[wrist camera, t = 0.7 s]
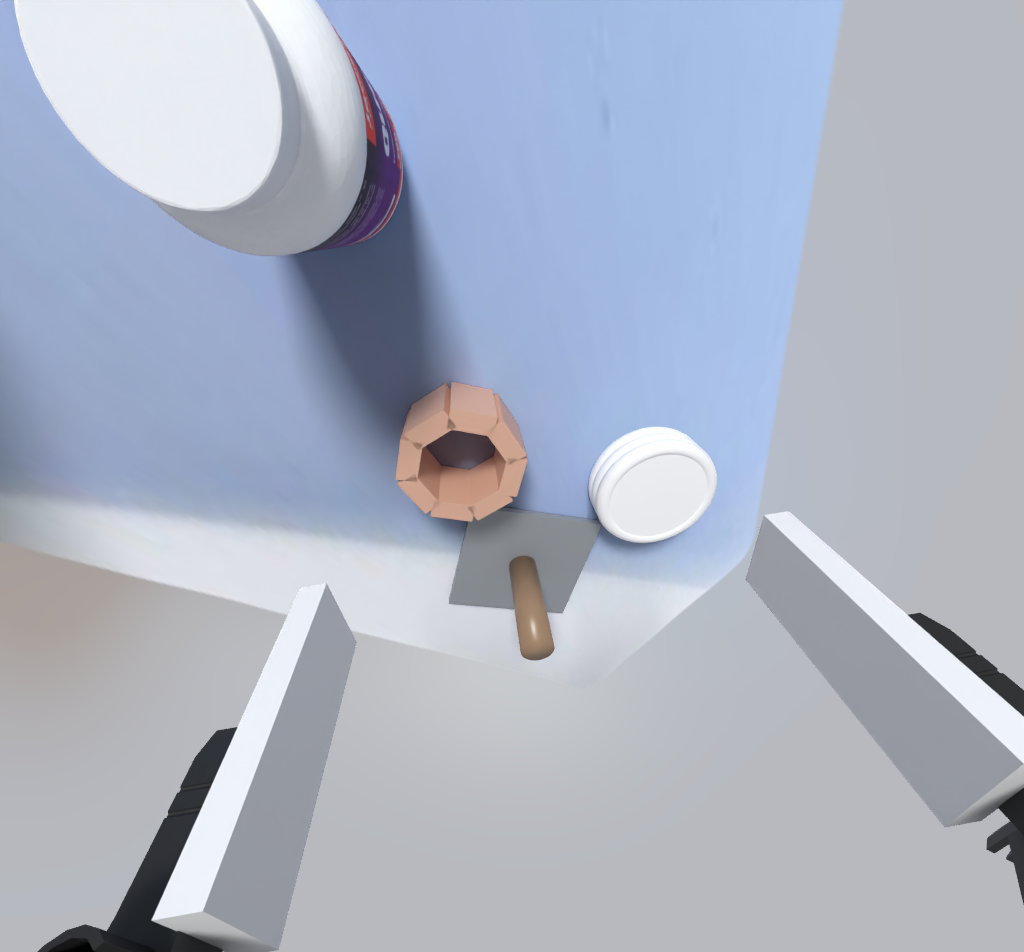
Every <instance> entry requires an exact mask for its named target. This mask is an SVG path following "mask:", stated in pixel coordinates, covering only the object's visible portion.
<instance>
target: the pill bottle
mask: <svg viewBox="0 0 1024 952" xmlns="http://www.w3.org/2000/svg"><path fill="white" fill-rule="evenodd" d="M14 2H15V11H16V17H17V21H18V25H19V30H20V35H21V38H22V41H23V44H24V48H25V51H26V53H27V56H28V58H29V61H30V63H31V65H32V68H33V70H34V73H35V75H36V77H37V79H38V81H39V83H40V85H41V87H42V89H43V91H44V93H45V94H46V96H47V97H48V99H49V101H50V102H51V104H52V106H53V107H54V109H55V110H56V112H57V113H58V115H59V116H60V117H61V119H62V120H63V122H64V123H65V124H66V126H67V127H68V128H69V129H70V131H71V132H72V133H73V134H74V136H75V137H76V138H77V140H78V141H79V142H80V143H81V144H82V145H83V146H84V147H85V148H86V150H87V151H88V152H89V153H90V154H91V155H92V156H93V157H94V158H95V159H96V160H97V161H98V162H99V163H100V164H102V165H103V166H104V167H105V168H106V169H108V170H109V171H110V172H111V173H113V174H114V175H115V176H116V177H118V178H119V179H120V180H121V181H123V182H124V183H126V184H127V185H129V186H130V187H132V188H134V189H135V190H137V191H138V192H140V193H142V194H144V195H146V196H148V197H149V198H150V199H151V200H153V201H154V202H155V203H156V204H157V205H158V206H159V207H160V208H161V209H162V210H164V211H165V212H166V213H167V214H169V215H170V216H171V217H172V218H174V219H175V220H177V221H178V222H179V223H181V224H182V225H184V226H185V227H186V228H188V229H189V230H191V231H193V232H194V233H196V234H198V235H200V236H201V237H203V238H205V239H207V240H209V241H211V242H213V243H216V244H218V245H220V246H223V247H226V248H228V249H231V250H235V251H238V252H242V253H247V254H252V255H259V256H283V255H293V254H298V253H303V252H309V251H316V250H322V249H329V248H336V247H343V246H350V245H354V244H357V243H360V242H363V241H365V240H367V239H369V238H371V237H373V236H374V235H375V234H377V233H378V232H379V231H380V230H381V229H382V228H383V227H384V226H385V225H386V224H387V222H388V221H389V220H390V218H391V216H392V214H393V212H394V210H395V208H396V206H397V203H398V201H399V197H400V194H401V189H402V182H403V162H402V152H401V147H400V143H399V139H398V136H397V132H396V129H395V127H394V124H393V122H392V119H391V117H390V115H389V113H388V111H387V109H386V107H385V106H384V104H383V102H382V100H381V99H380V97H379V96H378V94H377V92H376V91H375V90H374V88H373V87H372V85H371V84H370V82H369V81H368V79H367V78H366V76H365V75H364V73H363V71H362V70H361V69H360V67H359V65H358V64H357V62H356V61H355V59H354V58H353V56H352V55H351V53H350V52H349V50H348V49H347V47H346V46H345V44H344V43H343V41H342V39H341V38H340V36H339V35H338V33H337V32H336V30H335V29H334V27H333V26H332V24H331V22H330V21H329V19H328V18H327V16H326V15H325V13H324V12H323V10H322V9H321V7H320V6H319V5H318V3H317V2H316V0H14Z"/></svg>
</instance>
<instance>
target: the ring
mask: <svg viewBox="0 0 1024 952" xmlns="http://www.w3.org/2000/svg"><path fill="white" fill-rule="evenodd" d="M451 430H456V431H462V432H468V433H473V434H479V435H485V436H488V437H489V439H490V440H491V441H492V443H493V444H494V445H495V447H496V449H495V453H494V456H492V457H491V458H489V459H487V460H485V461H484V462H482V463H480V464H479V465H477V466H475V467H474V468H472V469H470V470H468V469H461V468H455V467H449V466H442V465H441V464H440V463H439V462H438V461H437V460H436V458H435V457H434V456H433V455H432V454H431V452H430V451H429V450H428V449H427V448H426V445H428V444H430V443H431V442H433V441H435V440H436V439H438V438H439V437H441V436H443V435H444V434H446V433H448V432H449V431H451ZM526 455H527V454H526V451H525V447H524V444H523V440H522V437H521V433H520V430H519V427H518V424H517V422H516V421H515V419H514V418H513V416H512V415H511V413H510V412H509V410H508V409H507V407H506V405H505V404H504V402H503V401H502V399H501V398H500V396H499V395H498V393H497V394H495V395H493V390H491V389H486V388H481V387H476V386H471V385H466V384H461V383H456V382H452V383H451V388H449V387H448V385H447V384H446V383H444V384H443V385H441V386H440V387H438V388H437V389H435V390H434V391H432V392H431V393H429V394H427V395H426V396H424V397H423V398H421V399H420V400H418V401H417V402H415V403H413V404H412V406H411V409H409V411H408V414H407V418H406V421H405V425H404V428H403V432H402V436H401V439H400V447H399V455H398V463H397V472H396V479H397V480H399V481H398V486H399V487H400V488H401V489H402V490H403V491H404V492H405V493H406V494H407V495H408V496H409V497H410V498H411V499H412V500H413V501H414V502H415V504H416V505H417V506H418V507H419V508H420V509H421V510H422V511H423V512H424V513H425V514H426V513H427V512H429V511H431V517H439V518H447V519H454V520H462V521H470V522H472V520H473V516H474V517H475V518H476V519H477V520H480V519H482V518H484V517H485V516H487V515H489V514H491V513H493V512H494V511H496V510H498V509H500V508H502V507H503V506H505V505H507V504H509V503H511V502H512V501H513V499H512V496H514V497H517V494H518V491H519V488H520V485H521V481H522V478H523V475H524V471H525V468H526V465H527V462H528V460H527V457H526Z"/></svg>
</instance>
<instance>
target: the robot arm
mask: <svg viewBox="0 0 1024 952" xmlns="http://www.w3.org/2000/svg"><path fill="white" fill-rule="evenodd" d="M746 580H747V582H748V583H749V584H750V586H751V587H752V588H753V589H754V590H755V592H756V593H757V594H758V595H759V597H760V598H761V599H762V600H763V602H764V603H765V604H766V605H767V607H768V608H769V609H770V610H771V612H772V613H773V614H774V615H775V616H776V618H777V619H778V620H779V622H780V623H781V624H782V625H783V626H784V628H785V629H786V630H787V632H788V633H789V634H790V635H791V637H792V638H793V639H794V640H795V641H796V643H797V644H798V645H799V646H800V648H801V649H802V650H803V652H804V653H805V654H806V655H807V656H808V658H809V659H810V660H811V661H812V663H813V664H814V665H815V666H816V668H817V669H818V670H819V671H820V673H821V674H822V675H823V676H824V678H825V679H826V680H827V681H828V683H829V684H830V685H831V686H832V688H833V689H834V690H835V691H836V693H837V694H838V695H839V696H840V698H841V699H842V700H843V701H844V703H845V704H846V705H847V706H848V708H849V709H850V710H851V711H852V712H853V714H854V715H855V716H856V718H857V719H858V720H859V721H860V722H861V724H862V725H863V726H864V727H865V729H866V730H867V731H868V732H869V734H870V735H871V736H872V737H873V739H874V740H875V741H876V742H877V744H878V745H879V746H880V747H881V749H882V750H883V751H884V752H885V753H886V755H887V756H888V757H889V759H890V760H891V761H892V762H893V764H894V765H895V766H896V767H897V768H898V770H899V771H900V772H901V773H902V775H903V776H904V777H905V779H906V780H907V781H908V782H909V783H910V785H911V786H912V787H913V789H914V790H915V791H916V792H917V793H918V795H919V796H920V797H921V798H922V799H923V801H924V802H925V803H926V805H927V806H928V807H929V808H930V810H931V811H932V812H933V813H934V815H935V816H936V817H937V818H938V820H939V821H940V822H941V823H942V825H943V826H944V827H949V826H955V825H960V824H965V823H971V822H977V821H981V820H983V819H984V818H986V817H987V816H988V815H990V814H991V813H992V812H994V811H995V810H996V809H998V808H999V809H1000V810H1001V811H1002V812H1003V813H1004V815H1005V816H1006V817H1008V819H1009V820H1010V822H1009V823H1007V824H1006V825H1004V826H1003V827H1001V828H1000V829H998V830H997V831H995V832H994V833H993V834H992V835H991V836H989V837H988V838H987V850H989V851H991V852H993V853H996V852H998V851H999V850H1001V849H1002V848H1003V847H1005V846H1007V845H1010V848H1011V851H1010V852H1009V854H1008V855H1007V857H1006V858H1007V860H1009V861H1011V862H1013V863H1014V865H1015V870H1016V874H1017V878H1018V882H1019V887H1020V891H1021V895H1022V899H1023V903H1024V690H1023V689H1021V688H1020V687H1019V686H1018V685H1016V684H1015V683H1014V682H1013V681H1012V680H1011V679H1009V678H1008V677H1007V676H1006V675H1005V674H1003V673H999V672H998V671H997V668H996V667H995V666H994V665H992V664H991V663H990V662H989V661H988V660H986V659H985V658H984V657H983V656H982V655H977V654H976V651H975V650H974V649H973V648H972V647H971V646H969V645H968V644H967V643H966V642H965V641H963V640H962V639H961V638H960V637H959V636H957V635H956V634H955V633H954V632H952V631H951V630H950V629H948V628H946V627H945V626H943V625H941V624H939V623H937V622H935V621H934V620H932V619H930V618H928V617H927V616H925V615H923V614H921V613H917V614H910V615H906V613H904V612H903V611H902V610H901V609H900V608H899V607H897V606H896V605H895V604H894V603H893V602H892V601H891V600H890V599H888V598H887V597H886V596H885V595H884V594H883V593H882V592H880V591H879V590H878V589H877V588H876V587H875V586H874V585H872V584H871V583H870V582H869V581H868V580H867V579H865V578H864V577H863V576H862V575H861V574H860V573H859V572H857V571H856V570H855V569H854V568H853V567H852V566H851V565H849V564H848V563H847V562H846V561H845V560H844V559H843V558H841V557H840V556H839V555H838V554H837V553H836V552H835V551H833V550H832V549H831V548H830V547H829V546H828V545H827V544H825V543H824V542H823V541H822V540H821V539H820V538H819V537H817V536H816V535H815V534H814V533H813V532H812V531H811V530H809V529H808V528H807V527H806V526H805V525H804V524H802V523H801V522H800V521H799V520H798V519H797V518H796V517H794V516H793V515H792V514H791V513H790V512H789V511H788V512H782V513H775V514H768V515H764V517H763V521H762V524H761V528H760V531H759V535H758V538H757V541H756V545H755V549H754V552H753V555H752V559H751V562H750V566H749V570H748V573H747V576H746ZM355 646H356V640H355V638H354V636H353V634H352V632H351V630H350V628H349V626H348V625H347V623H346V621H345V619H344V617H343V615H342V613H341V611H340V609H339V607H338V605H337V603H336V601H335V599H334V597H333V595H332V593H331V591H330V589H329V587H328V585H327V583H326V584H319V585H313V586H307V587H300V589H299V591H298V593H297V596H296V598H295V600H294V602H293V605H292V607H291V609H290V611H289V614H288V616H287V618H286V620H285V623H284V625H283V627H282V629H281V631H280V634H279V636H278V638H277V640H276V643H275V645H274V647H273V649H272V652H271V654H270V656H269V658H268V661H267V663H266V665H265V667H264V670H263V672H262V674H261V676H260V678H259V681H258V683H257V685H256V687H255V690H254V692H253V694H252V696H251V699H250V701H249V703H248V705H247V708H246V710H245V712H244V714H243V717H242V719H241V721H240V723H239V725H238V727H236V728H230V729H224V730H218V731H216V732H215V734H214V735H213V736H212V737H211V738H210V740H209V741H208V742H207V743H206V745H205V746H204V747H203V748H202V749H201V751H200V752H199V753H198V755H197V756H196V757H195V759H194V761H193V763H192V765H191V767H190V769H189V771H188V773H187V775H186V777H185V779H184V781H183V783H182V785H181V790H180V792H179V793H177V794H176V797H175V799H174V801H173V802H172V804H171V806H170V809H169V810H168V816H167V818H165V819H164V820H163V822H162V824H161V826H160V829H159V830H158V832H157V835H156V836H155V838H154V840H153V842H152V844H151V846H150V848H149V851H148V852H147V854H146V856H145V858H144V861H143V862H142V864H141V866H140V868H139V870H138V872H137V874H136V876H135V878H134V880H133V882H132V885H131V886H130V888H129V890H128V892H127V894H126V896H125V898H124V900H123V902H122V904H121V906H120V908H119V910H118V912H117V914H116V916H115V918H114V920H113V921H112V923H111V925H110V927H109V929H108V930H107V931H104V930H101V929H99V928H95V927H92V926H88V925H82V926H79V927H76V928H73V929H69V930H67V931H65V932H63V933H62V934H60V935H59V936H58V937H56V938H55V939H53V940H52V941H50V942H49V943H47V944H46V945H44V946H43V947H42V948H41V949H40V950H39V951H38V952H222V951H224V952H269V951H275V950H279V946H280V942H281V938H282V934H283V930H284V926H285V922H286V919H287V914H288V911H289V907H290V903H291V899H292V895H293V891H294V887H295V883H296V879H297V875H298V871H299V867H300V863H301V859H302V855H303V851H304V847H305V843H306V839H307V835H308V831H309V828H310V824H311V819H312V816H313V812H314V808H315V804H316V800H317V796H318V792H319V788H320V784H321V780H322V776H323V772H324V768H325V764H326V760H327V756H328V752H329V749H330V745H331V741H332V737H333V733H334V729H335V725H336V720H337V716H338V713H339V708H340V705H341V701H342V697H343V693H344V689H345V685H346V681H347V677H348V673H349V669H350V665H351V662H352V658H353V653H354V650H355Z"/></svg>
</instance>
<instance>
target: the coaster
mask: <svg viewBox="0 0 1024 952" xmlns="http://www.w3.org/2000/svg"><path fill="white" fill-rule="evenodd" d="M716 486H717V473H716V469H715V467H714V464H713V462H712V460H711V458H710V457H709V455H708V454H707V453H706V452H705V451H704V450H702V449H701V448H700V447H699V446H698V445H697V444H696V443H695V442H694V441H693V440H692V439H691V438H690V437H688V436H687V435H686V434H684V433H682V432H680V431H677V430H674V429H671V428H666V427H647V428H642V429H638V430H635V431H632V432H630V433H628V434H625V435H623V436H622V437H620V438H618V439H617V440H616V441H614V442H613V443H612V444H610V445H609V446H608V447H607V448H606V449H605V450H604V451H603V452H602V454H601V455H600V456H599V458H598V459H597V461H596V462H595V464H594V466H593V468H592V471H591V473H590V477H589V485H588V490H589V497H590V501H591V503H592V505H593V507H594V509H595V512H596V513H597V515H598V518H599V520H600V522H601V523H602V525H603V526H604V527H605V528H606V529H607V530H608V531H609V532H610V533H611V534H613V535H614V536H616V537H618V538H620V539H622V540H625V541H629V542H635V543H649V542H656V541H661V540H664V539H667V538H670V537H672V536H675V535H677V534H679V533H681V532H682V531H684V530H685V529H687V528H688V527H690V526H691V525H692V524H694V523H695V522H696V521H697V520H698V519H699V518H700V517H701V516H702V514H703V513H704V512H705V511H706V509H707V508H708V506H709V505H710V503H711V501H712V499H713V497H714V494H715V491H716Z"/></svg>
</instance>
